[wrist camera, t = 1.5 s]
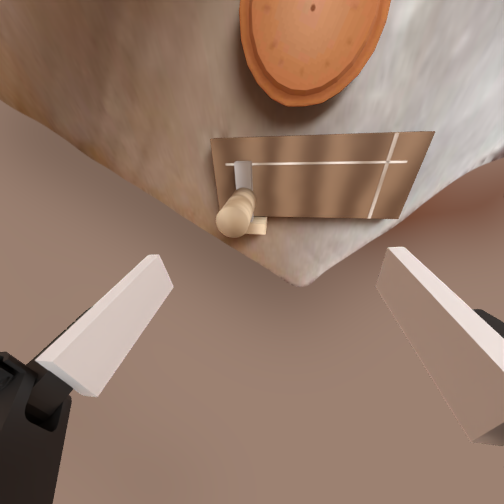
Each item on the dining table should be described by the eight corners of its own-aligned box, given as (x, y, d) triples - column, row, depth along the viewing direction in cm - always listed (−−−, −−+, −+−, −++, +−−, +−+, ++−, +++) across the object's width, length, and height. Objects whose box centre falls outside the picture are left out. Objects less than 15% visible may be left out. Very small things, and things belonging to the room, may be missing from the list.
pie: (220, -6, 22) (207, -37, 18) (363, -146, 17) (390, -239, 12) (274, 132, 29) (273, 132, 25) (388, 63, 23) (411, 49, 19)
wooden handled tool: (232, 221, 37) (211, 260, 26) (226, 159, 31) (195, 174, 20) (267, 222, 36) (261, 263, 25) (268, 158, 30) (260, 174, 19)
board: (224, 209, 37) (220, 215, 34) (215, 138, 30) (209, 138, 27) (389, 212, 33) (398, 219, 30) (420, 131, 26) (435, 131, 24)
